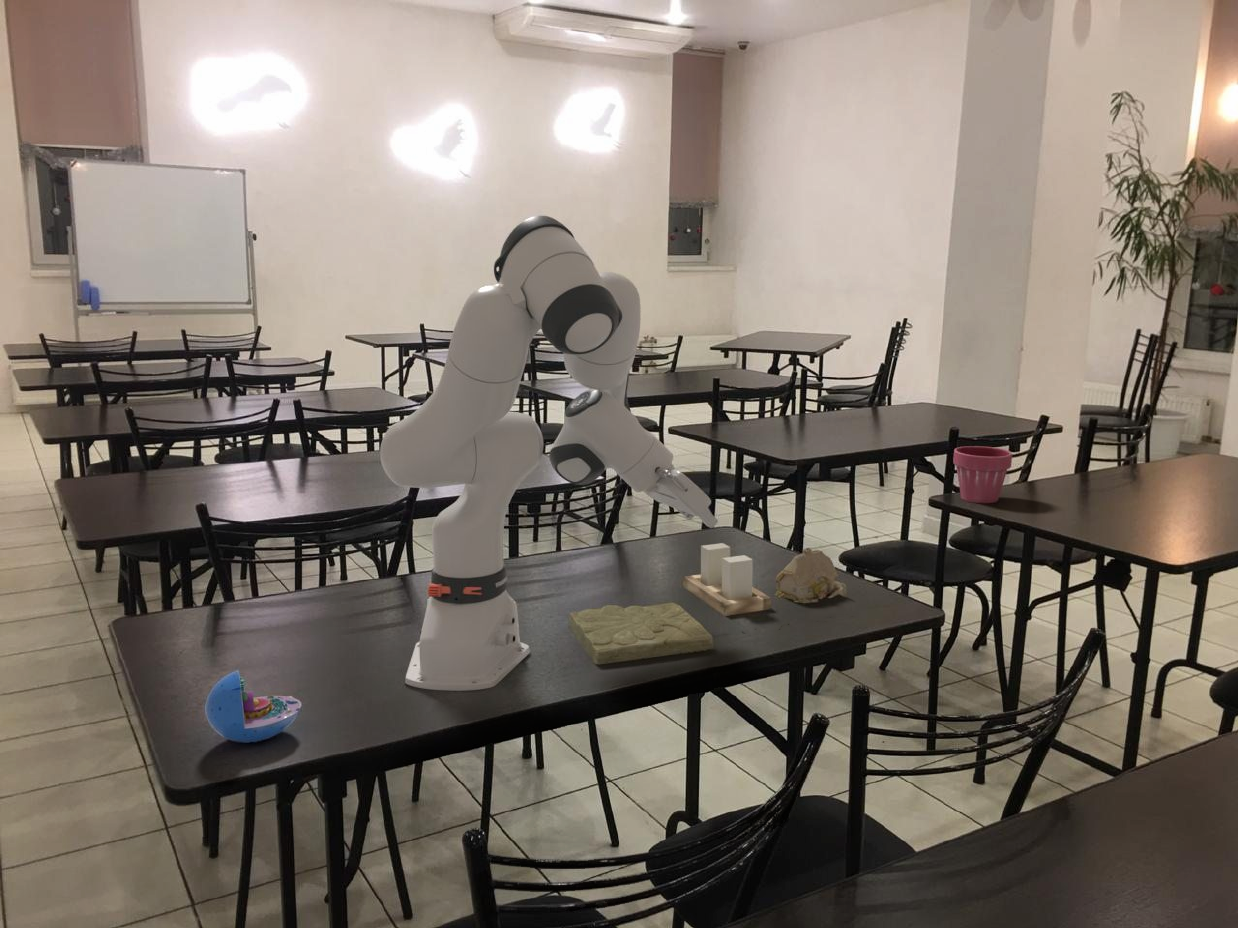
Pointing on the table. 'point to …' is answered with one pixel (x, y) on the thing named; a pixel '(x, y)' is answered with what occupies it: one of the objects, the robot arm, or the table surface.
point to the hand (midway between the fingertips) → (702, 520)
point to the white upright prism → (713, 563)
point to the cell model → (247, 711)
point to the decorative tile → (637, 632)
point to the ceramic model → (809, 578)
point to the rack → (724, 606)
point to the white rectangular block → (737, 577)
